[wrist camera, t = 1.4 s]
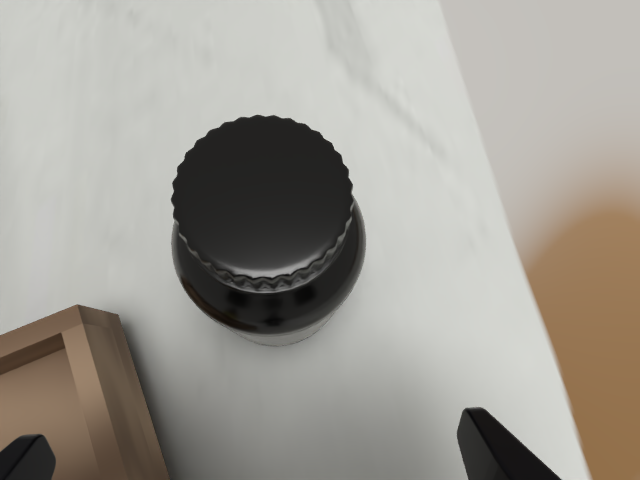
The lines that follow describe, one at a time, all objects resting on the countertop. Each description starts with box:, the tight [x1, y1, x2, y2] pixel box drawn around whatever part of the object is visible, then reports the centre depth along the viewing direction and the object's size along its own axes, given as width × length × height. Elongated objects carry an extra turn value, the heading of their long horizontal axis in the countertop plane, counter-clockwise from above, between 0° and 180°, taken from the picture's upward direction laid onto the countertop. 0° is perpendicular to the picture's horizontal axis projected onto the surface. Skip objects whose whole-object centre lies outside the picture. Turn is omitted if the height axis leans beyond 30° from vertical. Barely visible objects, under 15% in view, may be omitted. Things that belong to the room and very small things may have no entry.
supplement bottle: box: [171, 115, 366, 346], centre depth 16 cm, size 7×7×12 cm
